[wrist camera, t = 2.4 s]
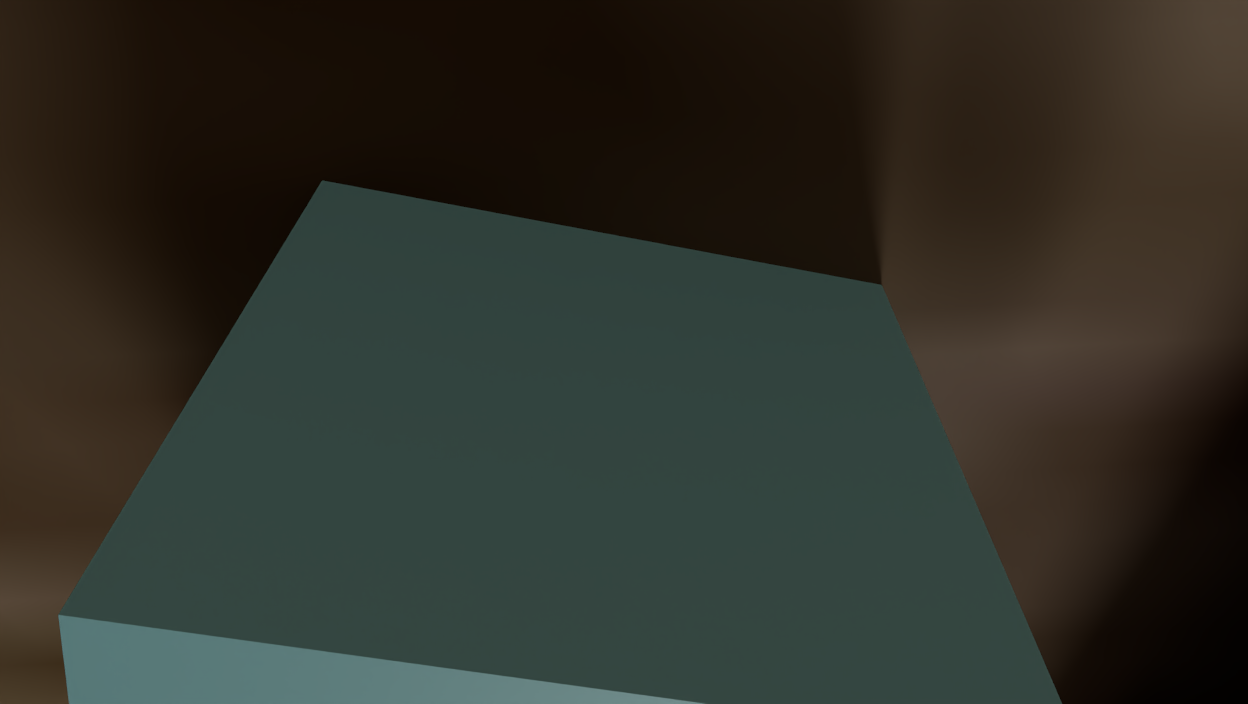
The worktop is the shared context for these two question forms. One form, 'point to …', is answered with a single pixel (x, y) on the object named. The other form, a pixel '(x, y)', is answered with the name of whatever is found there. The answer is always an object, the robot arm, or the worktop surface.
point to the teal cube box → (548, 488)
